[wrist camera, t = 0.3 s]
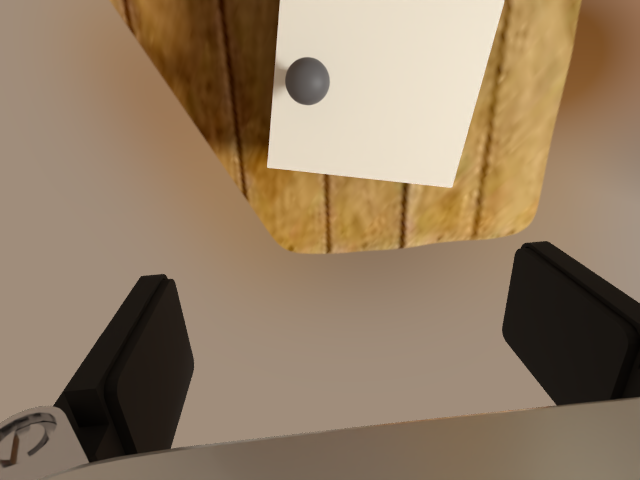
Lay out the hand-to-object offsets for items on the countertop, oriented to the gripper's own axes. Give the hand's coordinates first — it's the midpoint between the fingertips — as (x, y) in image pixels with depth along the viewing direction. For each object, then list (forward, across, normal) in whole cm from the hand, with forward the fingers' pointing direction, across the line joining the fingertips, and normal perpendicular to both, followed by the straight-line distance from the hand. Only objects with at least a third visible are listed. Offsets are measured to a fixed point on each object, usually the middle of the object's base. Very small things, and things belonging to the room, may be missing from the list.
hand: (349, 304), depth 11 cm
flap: (+26, -6, -4) cm, 27 cm away
